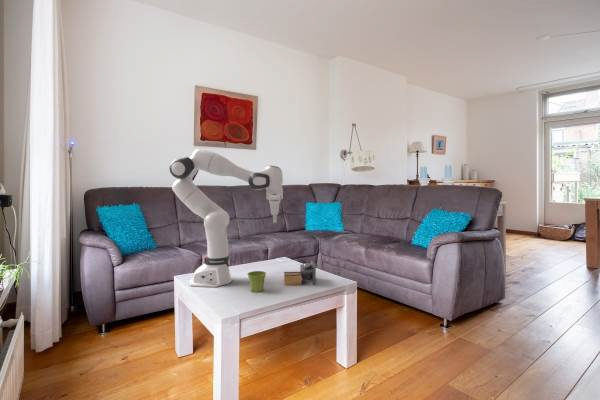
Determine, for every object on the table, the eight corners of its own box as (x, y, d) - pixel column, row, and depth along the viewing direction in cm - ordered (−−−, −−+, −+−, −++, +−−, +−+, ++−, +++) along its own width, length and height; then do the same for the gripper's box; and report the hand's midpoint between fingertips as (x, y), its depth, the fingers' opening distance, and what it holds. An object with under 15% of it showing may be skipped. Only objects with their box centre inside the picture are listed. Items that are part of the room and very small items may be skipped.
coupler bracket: (301, 285, 170) (301, 267, 169) (300, 278, 182) (300, 261, 182) (315, 285, 171) (315, 266, 170) (313, 278, 183) (313, 260, 182)
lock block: (284, 285, 171) (284, 275, 171) (284, 280, 179) (284, 271, 178) (301, 285, 172) (301, 275, 171) (300, 280, 180) (300, 270, 179)
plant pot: (248, 287, 167) (248, 271, 167) (266, 286, 168) (266, 270, 168) (247, 293, 158) (246, 276, 157) (266, 293, 159) (266, 276, 158)
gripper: (269, 194, 184) (269, 219, 184) (268, 197, 163) (268, 224, 164) (280, 194, 184) (280, 218, 185) (280, 196, 164) (281, 223, 165)
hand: (274, 221), depth 174 cm, fingers open, 8 cm apart
